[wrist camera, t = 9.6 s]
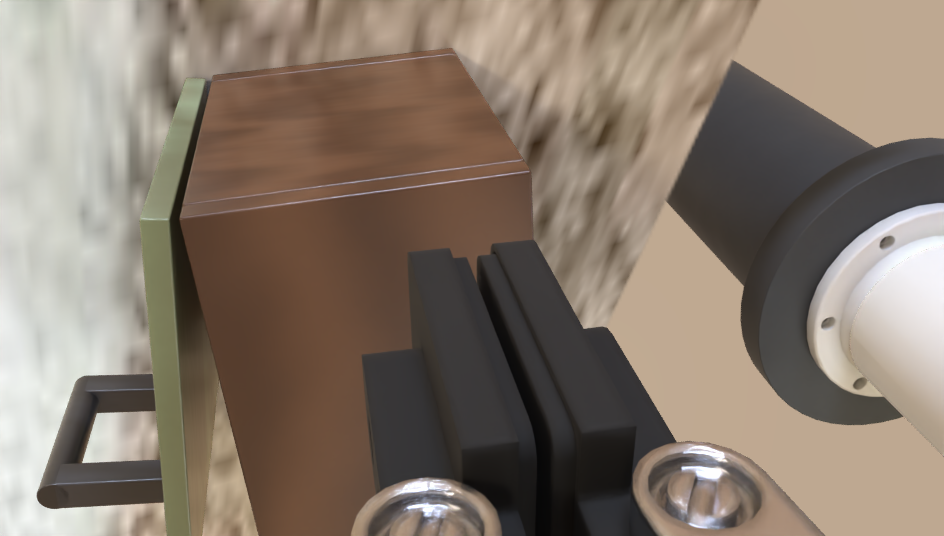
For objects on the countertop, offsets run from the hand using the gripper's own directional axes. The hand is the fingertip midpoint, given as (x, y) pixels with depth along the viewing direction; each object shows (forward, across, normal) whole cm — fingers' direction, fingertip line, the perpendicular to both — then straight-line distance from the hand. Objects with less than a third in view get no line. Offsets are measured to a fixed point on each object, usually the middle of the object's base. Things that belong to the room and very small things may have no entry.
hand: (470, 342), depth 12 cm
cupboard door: (+27, +10, +11) cm, 31 cm away
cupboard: (+27, 0, +11) cm, 29 cm away
